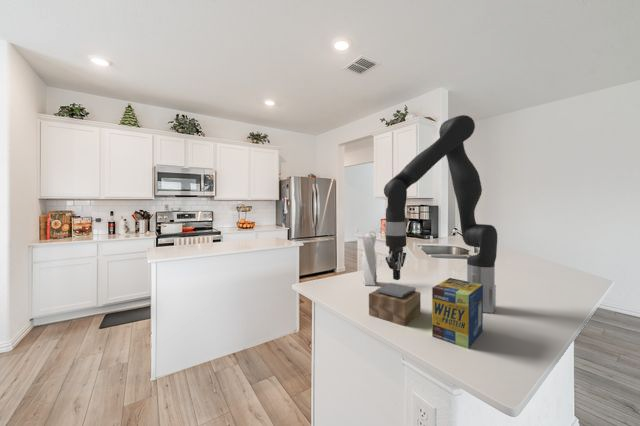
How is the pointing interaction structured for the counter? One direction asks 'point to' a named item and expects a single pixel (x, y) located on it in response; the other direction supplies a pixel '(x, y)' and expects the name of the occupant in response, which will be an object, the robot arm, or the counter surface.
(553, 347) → the counter surface
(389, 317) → the hole block
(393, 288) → the panel
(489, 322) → the counter surface
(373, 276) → the skyscraper
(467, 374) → the counter surface
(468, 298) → the protein box
